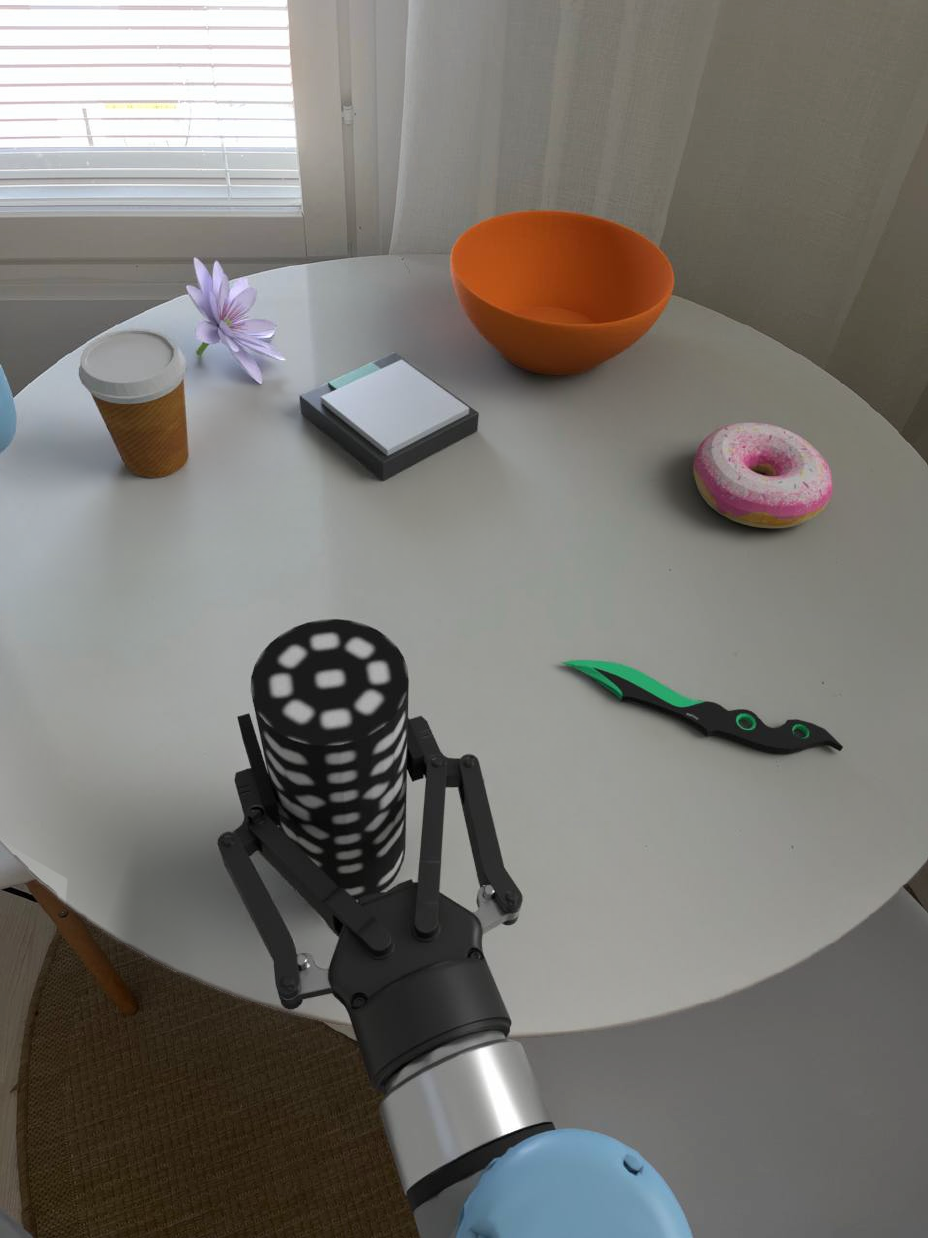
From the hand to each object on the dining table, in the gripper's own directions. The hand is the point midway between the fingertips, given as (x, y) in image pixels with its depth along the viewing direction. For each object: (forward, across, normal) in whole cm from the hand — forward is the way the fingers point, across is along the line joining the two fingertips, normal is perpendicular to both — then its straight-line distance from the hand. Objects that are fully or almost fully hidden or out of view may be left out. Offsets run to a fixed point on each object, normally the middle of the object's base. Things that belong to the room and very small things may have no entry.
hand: (316, 706), depth 58 cm
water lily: (+57, +7, -13) cm, 59 cm away
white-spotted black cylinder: (-5, 0, -11) cm, 12 cm away
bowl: (+50, +43, -13) cm, 67 cm away
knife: (-2, +31, -13) cm, 34 cm away
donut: (+19, +51, -13) cm, 56 cm away
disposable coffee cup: (+44, -5, -13) cm, 46 cm away
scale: (+42, +19, -13) cm, 48 cm away
